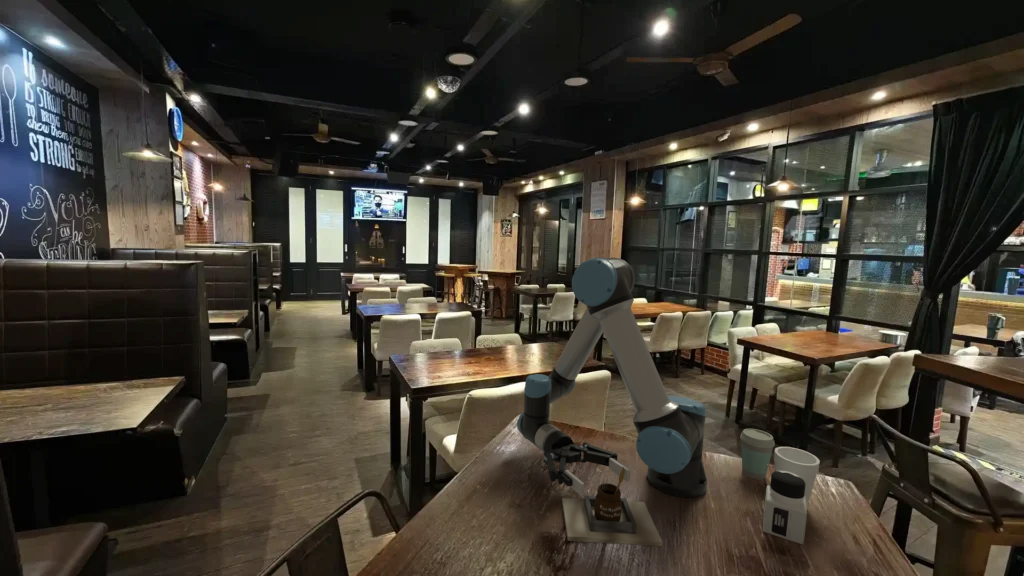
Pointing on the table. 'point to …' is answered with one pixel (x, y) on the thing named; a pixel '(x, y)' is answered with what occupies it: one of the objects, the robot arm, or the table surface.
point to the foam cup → (798, 465)
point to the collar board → (609, 523)
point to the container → (785, 507)
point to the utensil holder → (609, 500)
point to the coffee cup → (756, 452)
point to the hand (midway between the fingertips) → (606, 482)
